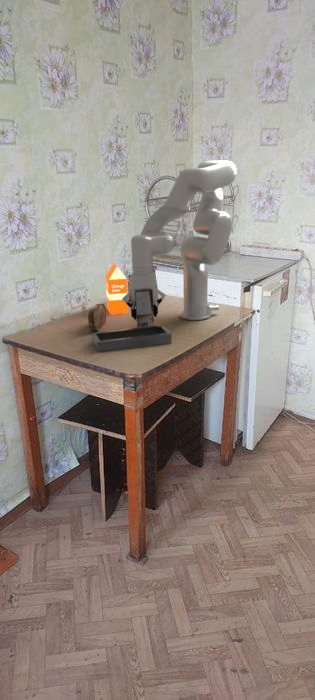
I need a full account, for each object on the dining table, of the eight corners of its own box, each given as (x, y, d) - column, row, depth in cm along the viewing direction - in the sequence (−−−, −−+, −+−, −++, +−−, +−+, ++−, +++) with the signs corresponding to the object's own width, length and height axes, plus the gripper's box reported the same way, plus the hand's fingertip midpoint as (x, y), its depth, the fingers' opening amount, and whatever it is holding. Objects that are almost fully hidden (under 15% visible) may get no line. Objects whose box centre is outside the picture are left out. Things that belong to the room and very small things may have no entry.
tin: (95, 333, 193) (94, 311, 190) (87, 333, 193) (86, 311, 190) (107, 321, 206) (106, 301, 203) (100, 321, 207) (98, 300, 204)
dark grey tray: (162, 334, 190) (162, 324, 189) (171, 343, 181) (171, 333, 179) (92, 342, 183) (91, 333, 182) (97, 352, 174) (97, 342, 173)
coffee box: (154, 333, 191) (153, 290, 185) (137, 334, 191) (135, 291, 185) (152, 325, 199) (151, 284, 194) (136, 326, 199) (134, 285, 193)
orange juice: (110, 314, 215) (107, 266, 208) (107, 308, 223) (104, 262, 216) (128, 312, 217) (126, 265, 210) (125, 307, 225) (122, 261, 218)
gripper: (162, 266, 193) (164, 312, 199) (117, 270, 188) (119, 317, 194) (169, 270, 186) (170, 317, 192) (121, 274, 181) (124, 322, 188)
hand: (144, 317), depth 193 cm, fingers closed on coffee box, 7 cm apart
